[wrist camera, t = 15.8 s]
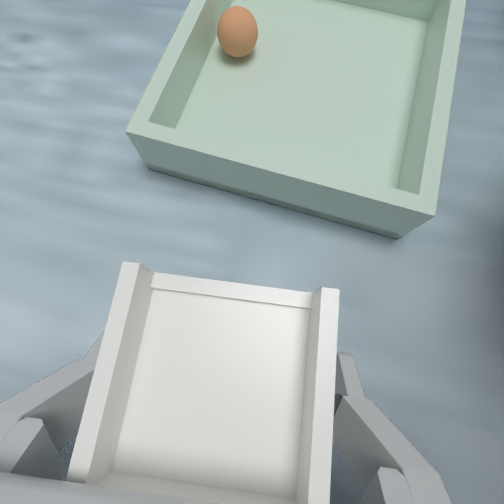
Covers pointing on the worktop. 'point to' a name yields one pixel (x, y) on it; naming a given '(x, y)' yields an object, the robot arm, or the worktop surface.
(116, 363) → the cup post
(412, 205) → the tray
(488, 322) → the worktop surface
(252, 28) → the ball
